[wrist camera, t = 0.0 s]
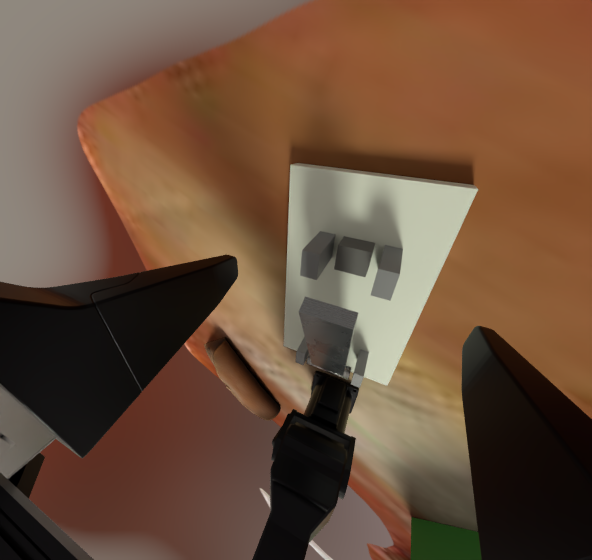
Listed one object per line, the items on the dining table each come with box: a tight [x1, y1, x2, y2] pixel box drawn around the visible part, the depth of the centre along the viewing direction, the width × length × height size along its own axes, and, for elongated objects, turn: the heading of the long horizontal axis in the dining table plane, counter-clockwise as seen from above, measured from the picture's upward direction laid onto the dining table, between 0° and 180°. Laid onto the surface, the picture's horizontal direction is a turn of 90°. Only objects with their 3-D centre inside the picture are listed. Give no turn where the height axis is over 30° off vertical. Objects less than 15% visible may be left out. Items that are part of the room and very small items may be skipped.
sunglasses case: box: [204, 338, 280, 420], centre depth 44 cm, size 18×7×7 cm, turn 34°
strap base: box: [284, 163, 478, 388], centre depth 24 cm, size 23×14×6 cm, turn 177°
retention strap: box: [299, 296, 358, 380], centre depth 21 cm, size 15×5×1 cm, turn 178°
